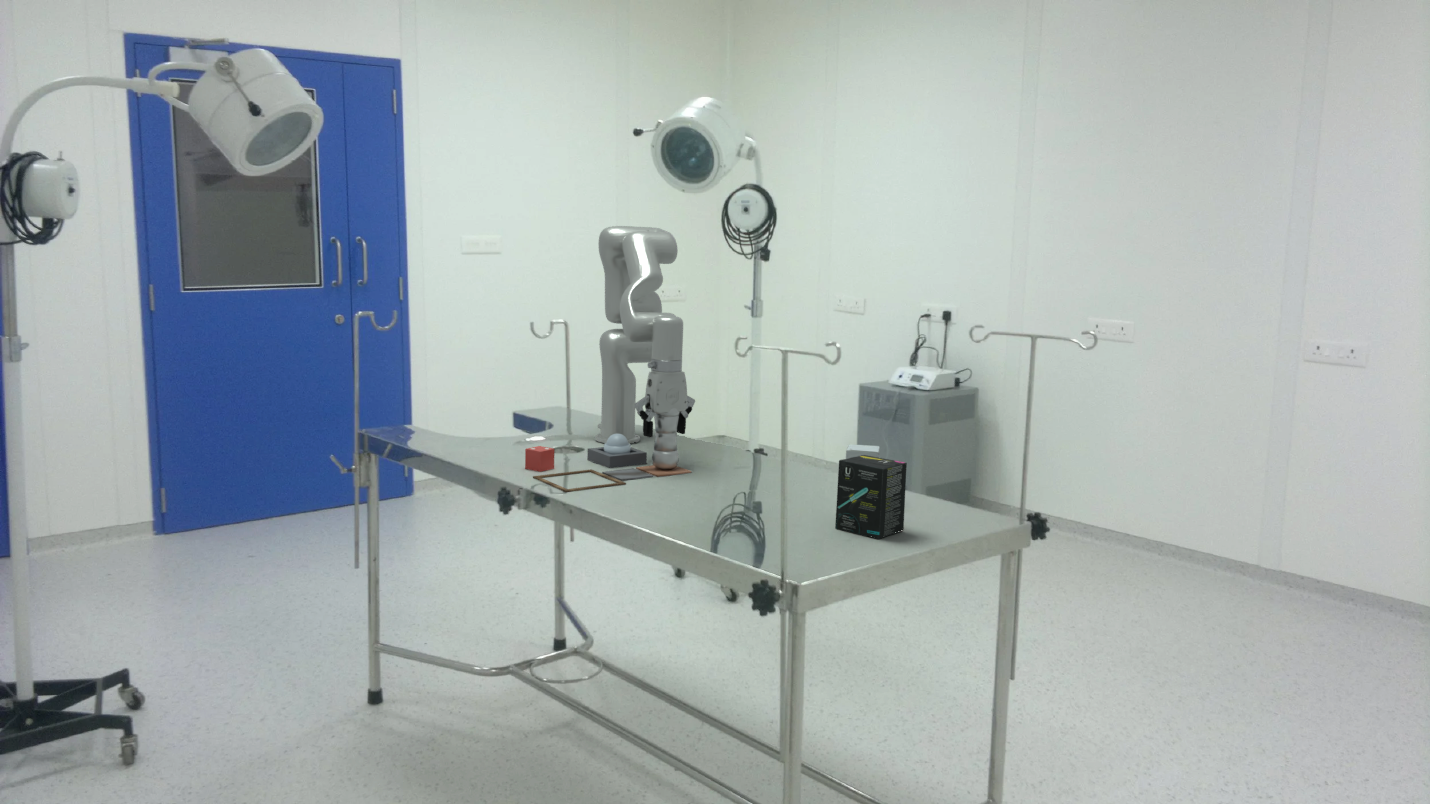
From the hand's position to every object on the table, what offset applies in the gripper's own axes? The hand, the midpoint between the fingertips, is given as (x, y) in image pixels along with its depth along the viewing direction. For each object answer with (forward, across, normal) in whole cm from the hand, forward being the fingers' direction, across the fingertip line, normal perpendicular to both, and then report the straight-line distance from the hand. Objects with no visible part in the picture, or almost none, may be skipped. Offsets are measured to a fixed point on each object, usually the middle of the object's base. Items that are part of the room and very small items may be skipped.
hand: (664, 434), depth 264 cm
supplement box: (+9, +22, -47) cm, 53 cm away
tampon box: (+9, +7, -65) cm, 66 cm away
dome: (+8, -5, +14) cm, 17 cm away
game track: (+9, -14, 0) cm, 17 cm away
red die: (+9, -26, +16) cm, 32 cm away
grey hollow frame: (+9, -5, +14) cm, 17 cm away
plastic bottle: (+9, 0, 0) cm, 9 cm away
